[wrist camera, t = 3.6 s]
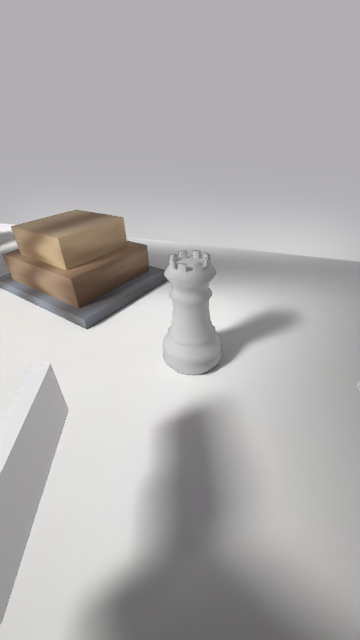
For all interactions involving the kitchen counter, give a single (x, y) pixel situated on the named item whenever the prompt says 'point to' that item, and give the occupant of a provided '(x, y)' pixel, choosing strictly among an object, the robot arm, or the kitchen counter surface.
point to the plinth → (78, 266)
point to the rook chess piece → (191, 316)
